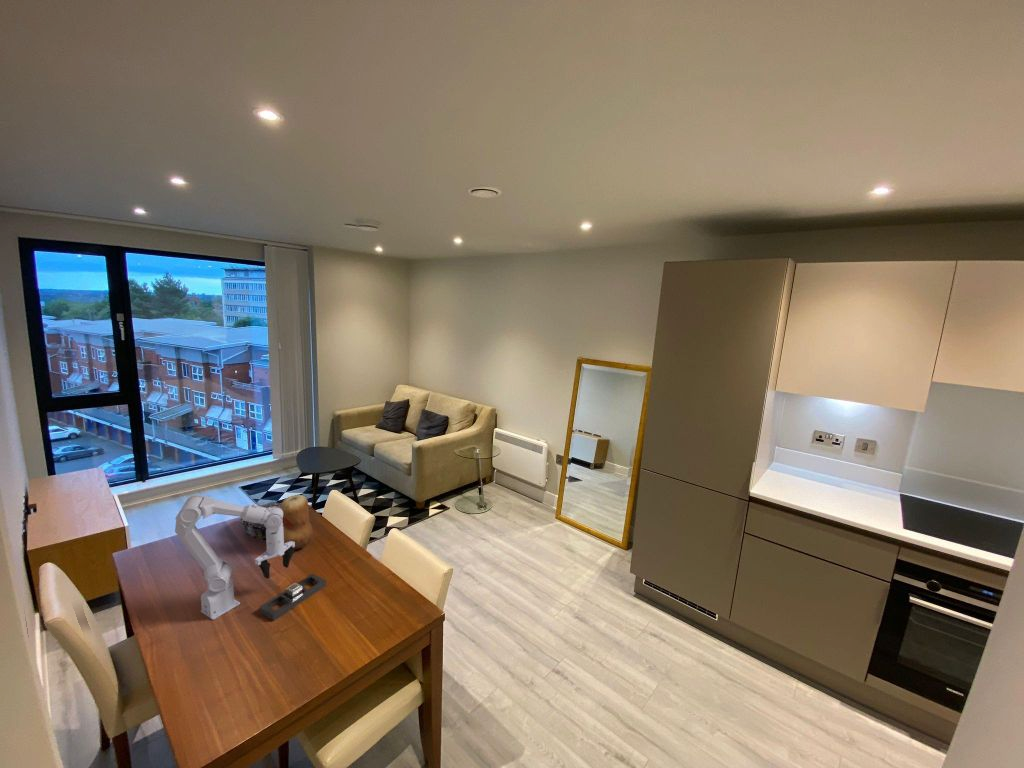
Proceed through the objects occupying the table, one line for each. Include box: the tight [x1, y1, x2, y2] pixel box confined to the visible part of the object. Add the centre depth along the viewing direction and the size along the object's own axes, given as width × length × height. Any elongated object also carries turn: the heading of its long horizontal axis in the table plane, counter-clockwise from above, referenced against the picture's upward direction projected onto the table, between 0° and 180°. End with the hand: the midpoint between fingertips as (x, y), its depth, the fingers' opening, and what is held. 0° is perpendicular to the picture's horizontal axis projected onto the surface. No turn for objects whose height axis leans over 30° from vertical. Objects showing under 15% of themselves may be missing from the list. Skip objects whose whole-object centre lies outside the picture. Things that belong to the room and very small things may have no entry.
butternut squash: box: [280, 494, 314, 551], centre depth 188 cm, size 14×13×25 cm
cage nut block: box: [285, 582, 302, 600], centre depth 158 cm, size 4×4×5 cm
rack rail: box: [259, 573, 327, 622], centre depth 158 cm, size 22×8×2 cm, turn 153°
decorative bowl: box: [239, 502, 282, 542], centre depth 202 cm, size 26×28×10 cm
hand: (276, 571), depth 158 cm, fingers open, 7 cm apart
